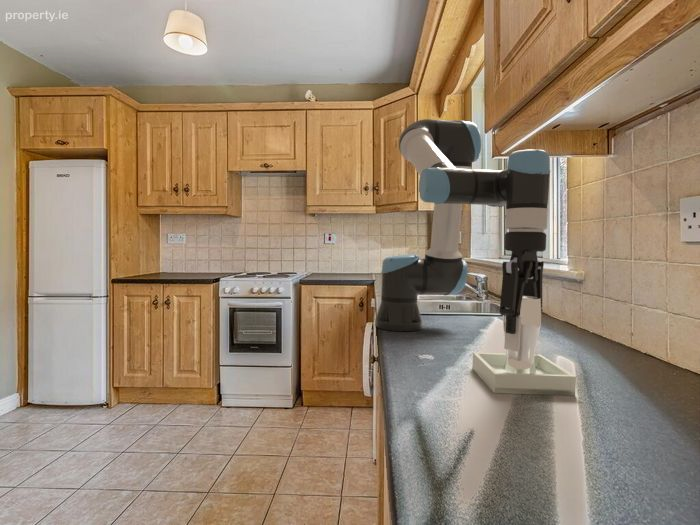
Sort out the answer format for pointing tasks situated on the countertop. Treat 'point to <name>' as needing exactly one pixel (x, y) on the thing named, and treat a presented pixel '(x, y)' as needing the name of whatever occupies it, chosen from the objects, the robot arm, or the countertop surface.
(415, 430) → the countertop surface
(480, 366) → the tray
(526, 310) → the beer glass
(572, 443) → the countertop surface
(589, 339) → the countertop surface
